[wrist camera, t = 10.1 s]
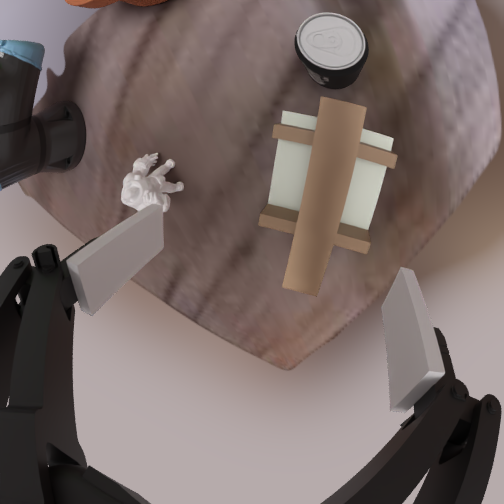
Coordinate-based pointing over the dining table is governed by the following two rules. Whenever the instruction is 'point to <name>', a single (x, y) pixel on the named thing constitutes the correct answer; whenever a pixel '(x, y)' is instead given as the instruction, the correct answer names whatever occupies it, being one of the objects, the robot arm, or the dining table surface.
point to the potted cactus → (103, 0)
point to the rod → (324, 193)
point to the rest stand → (295, 171)
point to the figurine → (148, 184)
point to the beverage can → (331, 49)
